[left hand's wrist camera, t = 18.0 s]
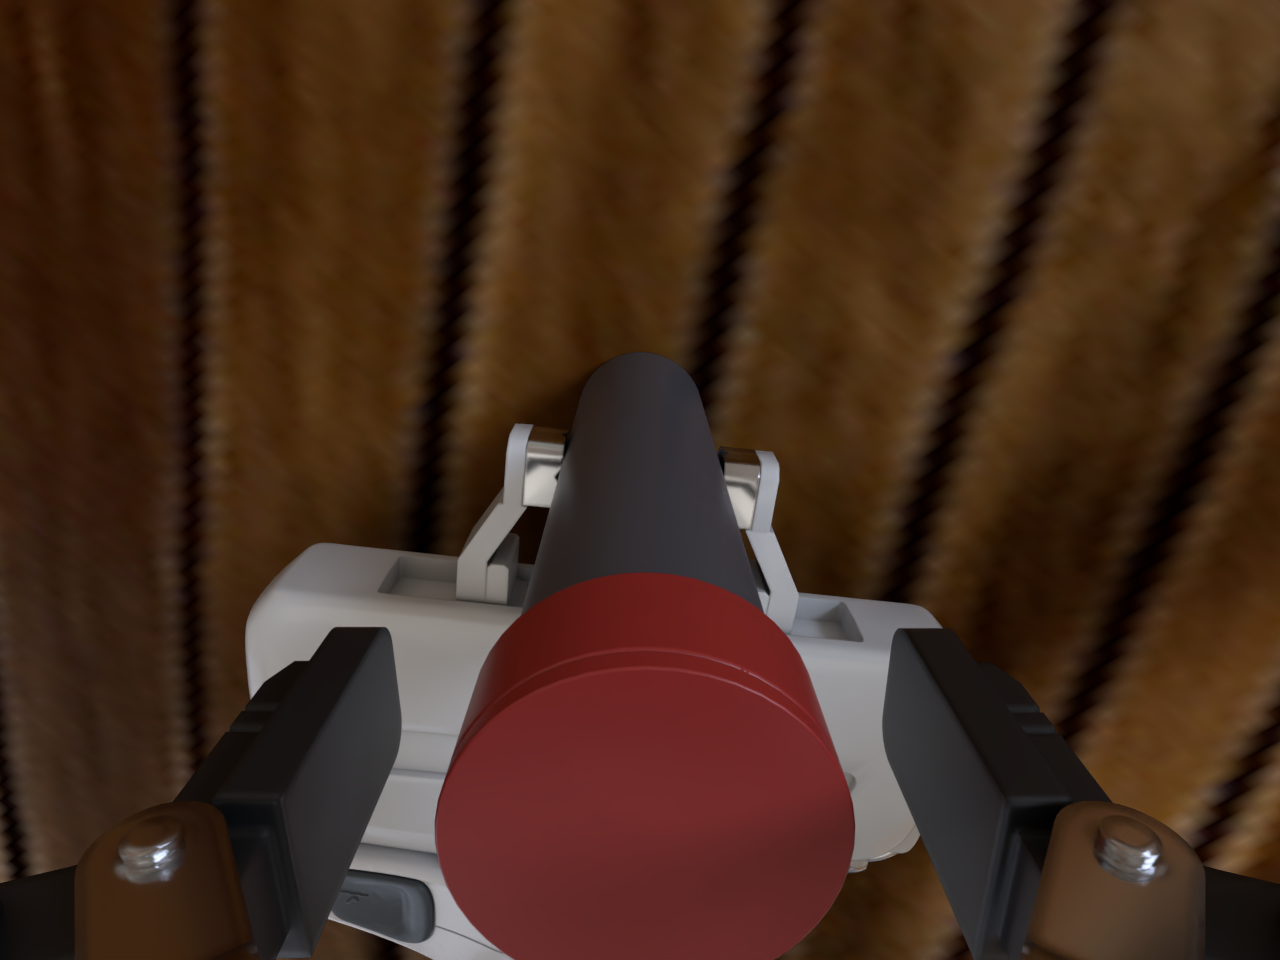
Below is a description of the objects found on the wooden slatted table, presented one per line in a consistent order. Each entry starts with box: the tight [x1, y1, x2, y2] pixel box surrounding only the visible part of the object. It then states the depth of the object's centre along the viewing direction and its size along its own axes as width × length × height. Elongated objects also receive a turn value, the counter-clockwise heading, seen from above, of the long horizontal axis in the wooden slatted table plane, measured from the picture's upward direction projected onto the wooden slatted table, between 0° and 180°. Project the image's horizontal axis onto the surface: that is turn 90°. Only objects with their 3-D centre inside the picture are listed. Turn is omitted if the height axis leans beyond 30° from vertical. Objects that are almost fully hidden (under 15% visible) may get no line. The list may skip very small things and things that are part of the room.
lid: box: [435, 572, 855, 960], centre depth 10 cm, size 5×5×2 cm
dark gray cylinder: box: [521, 352, 764, 615], centre depth 18 cm, size 4×4×18 cm
